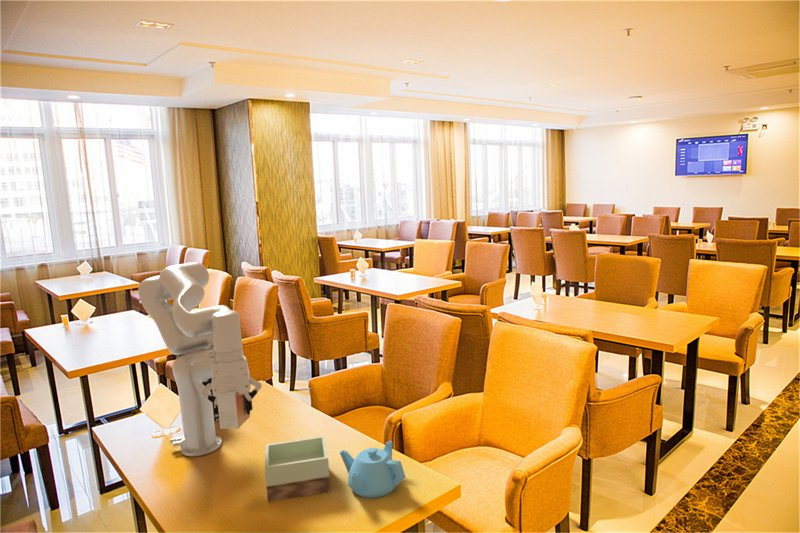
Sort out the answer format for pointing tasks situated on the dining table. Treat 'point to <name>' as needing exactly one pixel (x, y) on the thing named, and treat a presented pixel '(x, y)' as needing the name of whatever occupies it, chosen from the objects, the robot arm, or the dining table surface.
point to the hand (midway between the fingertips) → (234, 414)
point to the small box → (232, 410)
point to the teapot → (373, 471)
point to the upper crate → (296, 461)
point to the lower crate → (298, 489)
